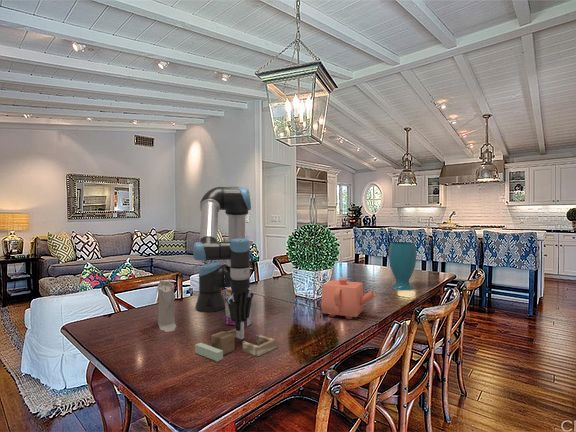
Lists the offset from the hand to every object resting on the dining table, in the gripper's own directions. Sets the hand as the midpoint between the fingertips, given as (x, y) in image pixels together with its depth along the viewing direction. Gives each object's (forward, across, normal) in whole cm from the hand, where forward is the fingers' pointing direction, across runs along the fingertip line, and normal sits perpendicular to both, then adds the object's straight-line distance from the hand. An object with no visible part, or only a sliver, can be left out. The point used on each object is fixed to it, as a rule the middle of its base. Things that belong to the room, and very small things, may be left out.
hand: (240, 337), depth 136 cm
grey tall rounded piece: (+2, -7, +39) cm, 39 cm away
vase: (+2, +132, -17) cm, 134 cm away
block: (+2, -10, -1) cm, 10 cm away
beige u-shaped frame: (+2, 0, -4) cm, 4 cm away
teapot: (+2, +58, -18) cm, 60 cm away
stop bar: (+2, -16, 0) cm, 16 cm away
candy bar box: (+2, +14, +16) cm, 21 cm away
